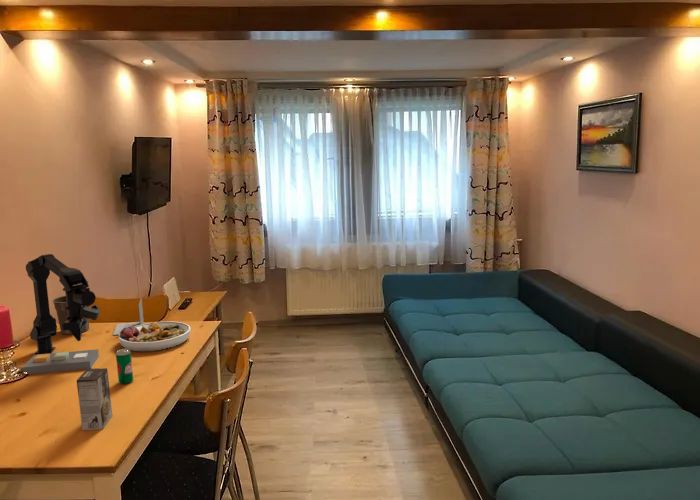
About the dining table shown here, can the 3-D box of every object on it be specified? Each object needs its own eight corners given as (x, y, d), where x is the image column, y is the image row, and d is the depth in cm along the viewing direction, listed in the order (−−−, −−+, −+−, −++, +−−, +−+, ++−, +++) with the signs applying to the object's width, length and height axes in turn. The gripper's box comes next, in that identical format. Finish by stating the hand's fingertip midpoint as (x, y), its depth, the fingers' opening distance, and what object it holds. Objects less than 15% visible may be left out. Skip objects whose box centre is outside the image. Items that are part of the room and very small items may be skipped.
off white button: (76, 360, 228) (76, 353, 227) (88, 359, 229) (87, 352, 228) (73, 364, 223) (73, 357, 223) (85, 363, 224) (85, 356, 224)
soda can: (128, 385, 203) (125, 353, 201) (115, 384, 204) (112, 352, 202) (136, 379, 208) (133, 348, 206) (123, 378, 209) (120, 347, 207)
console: (35, 362, 229) (34, 354, 229) (98, 356, 234) (98, 349, 233) (23, 374, 216) (22, 367, 215) (90, 368, 220) (89, 361, 220)
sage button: (57, 360, 226) (56, 353, 226) (69, 359, 227) (68, 351, 226) (54, 364, 222) (53, 356, 221) (66, 363, 223) (65, 355, 222)
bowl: (189, 328, 269) (188, 312, 268) (193, 348, 241) (191, 330, 240) (121, 336, 260) (120, 319, 259) (117, 358, 232) (115, 339, 231)
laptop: (116, 325, 277) (114, 299, 275) (144, 322, 281) (141, 297, 279) (112, 336, 260) (109, 309, 258) (141, 333, 264) (139, 306, 261)
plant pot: (64, 326, 277) (60, 294, 274) (98, 324, 278) (95, 292, 276) (50, 337, 261) (46, 303, 258) (87, 335, 262) (83, 301, 260)
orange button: (38, 362, 225) (37, 354, 224) (50, 360, 226) (49, 353, 225) (34, 365, 220) (34, 358, 220) (47, 364, 221) (46, 357, 221)
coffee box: (92, 417, 179) (86, 368, 176) (113, 415, 179) (108, 367, 177) (81, 430, 170) (75, 379, 167) (103, 429, 170) (97, 378, 168)
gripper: (91, 306, 214) (95, 346, 217) (101, 295, 232) (105, 331, 235) (59, 309, 212) (64, 349, 215) (72, 297, 230) (76, 334, 233)
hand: (79, 340), depth 224 cm, fingers closed
